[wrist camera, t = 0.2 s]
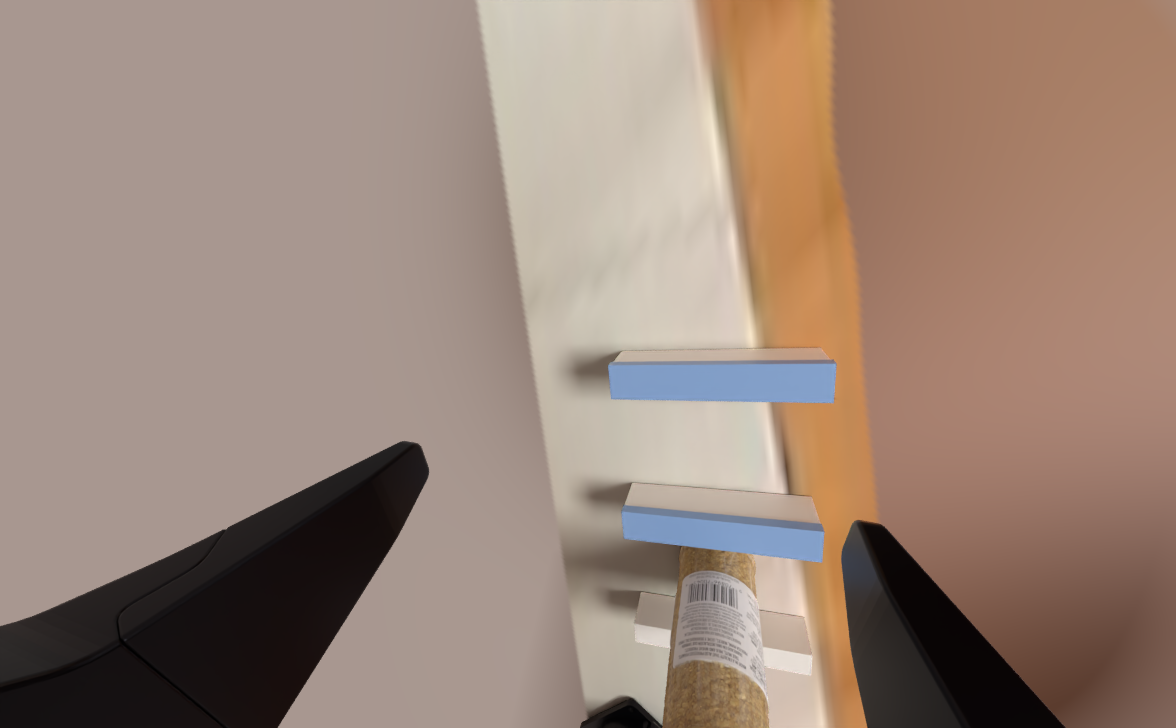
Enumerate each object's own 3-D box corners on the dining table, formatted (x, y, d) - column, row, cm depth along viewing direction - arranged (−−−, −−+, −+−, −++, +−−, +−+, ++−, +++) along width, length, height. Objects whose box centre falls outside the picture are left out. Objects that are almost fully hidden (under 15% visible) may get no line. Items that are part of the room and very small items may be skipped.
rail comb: (803, 636, 26) (812, 686, 23) (642, 609, 29) (633, 650, 26) (820, 344, 21) (836, 363, 18) (621, 348, 24) (608, 365, 21)
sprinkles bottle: (673, 574, 27) (635, 857, 15) (687, 518, 26) (658, 783, 14) (746, 598, 26) (767, 922, 14) (766, 541, 25) (809, 850, 13)
